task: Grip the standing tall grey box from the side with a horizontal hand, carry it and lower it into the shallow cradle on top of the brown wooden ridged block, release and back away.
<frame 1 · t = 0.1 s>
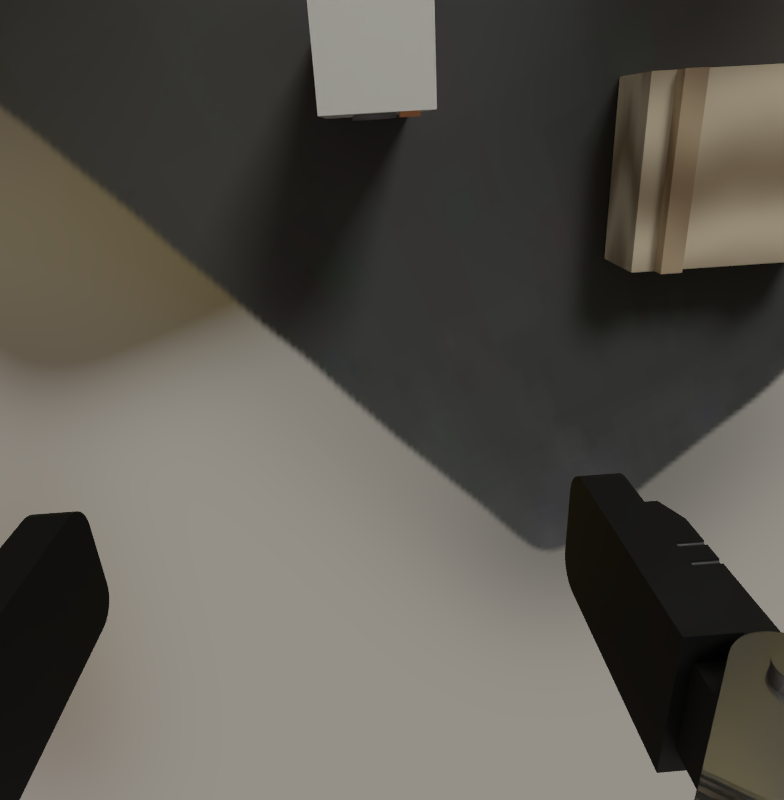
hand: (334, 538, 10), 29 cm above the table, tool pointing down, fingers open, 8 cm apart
tall grey box: (365, 70, 34), on the table
brown wooden ridged block: (712, 166, 37), on the table
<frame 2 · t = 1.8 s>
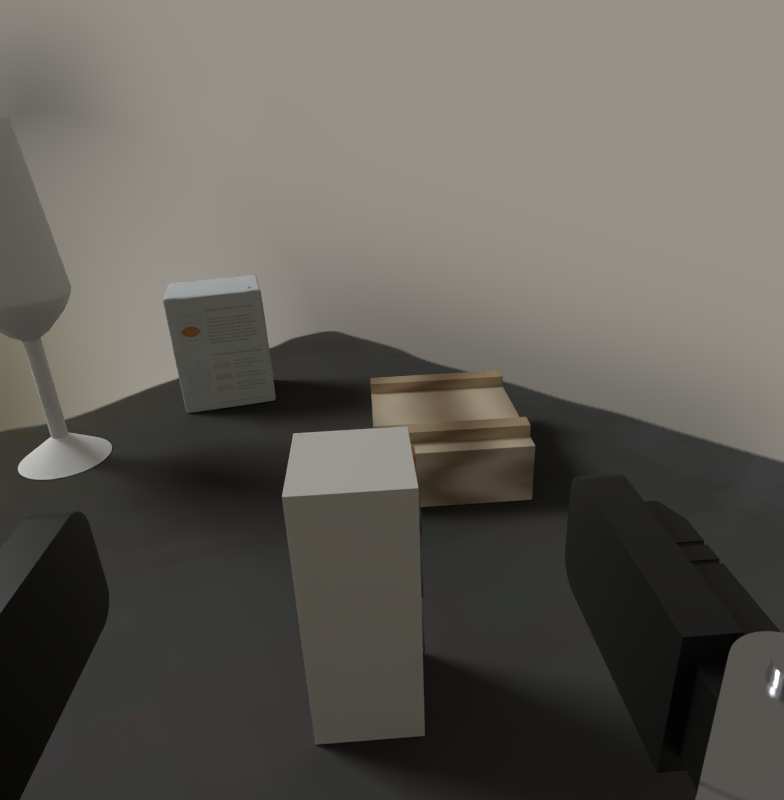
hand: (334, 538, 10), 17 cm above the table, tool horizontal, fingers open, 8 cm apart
tall grey box: (368, 693, 28), on the table
small box: (231, 398, 58), on the table
brown wooden ridged block: (443, 458, 46), on the table
champagne flute: (66, 459, 49), on the table
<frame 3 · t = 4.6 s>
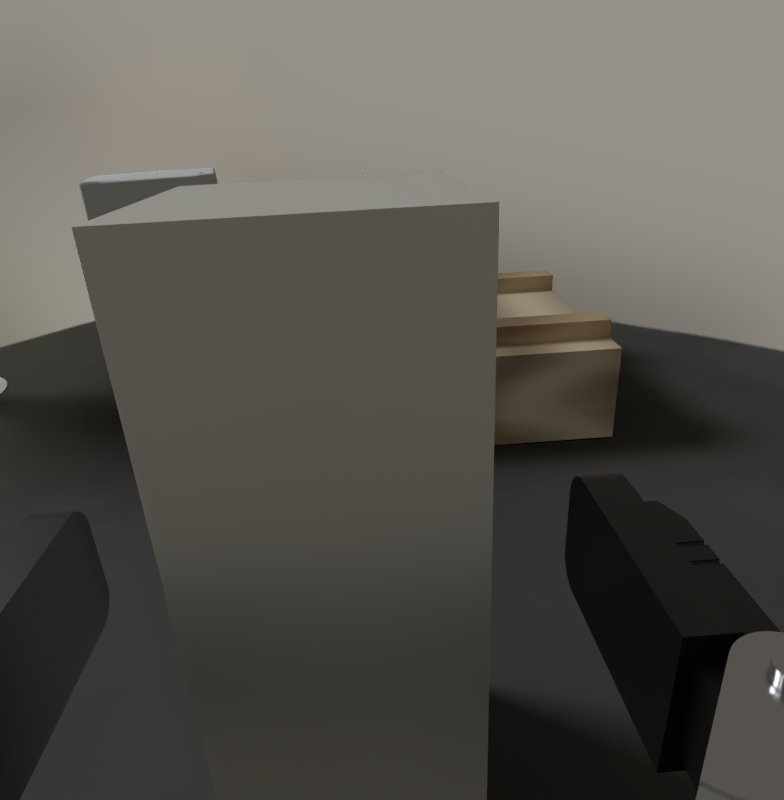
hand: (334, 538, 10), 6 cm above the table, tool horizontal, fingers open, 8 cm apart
tall grey box: (362, 770, 14), on the table
small box: (184, 333, 44), on the table
brown wooden ridged block: (471, 389, 32), on the table
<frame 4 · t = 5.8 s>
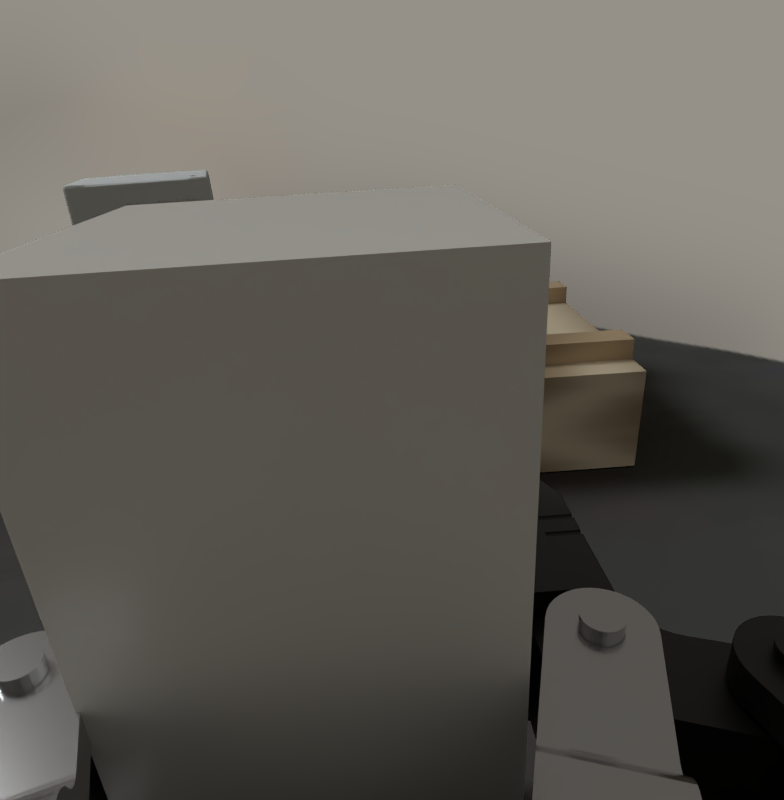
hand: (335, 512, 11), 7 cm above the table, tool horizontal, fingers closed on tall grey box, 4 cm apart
small box: (175, 343, 42), on the table
brown wooden ridged block: (479, 409, 30), on the table
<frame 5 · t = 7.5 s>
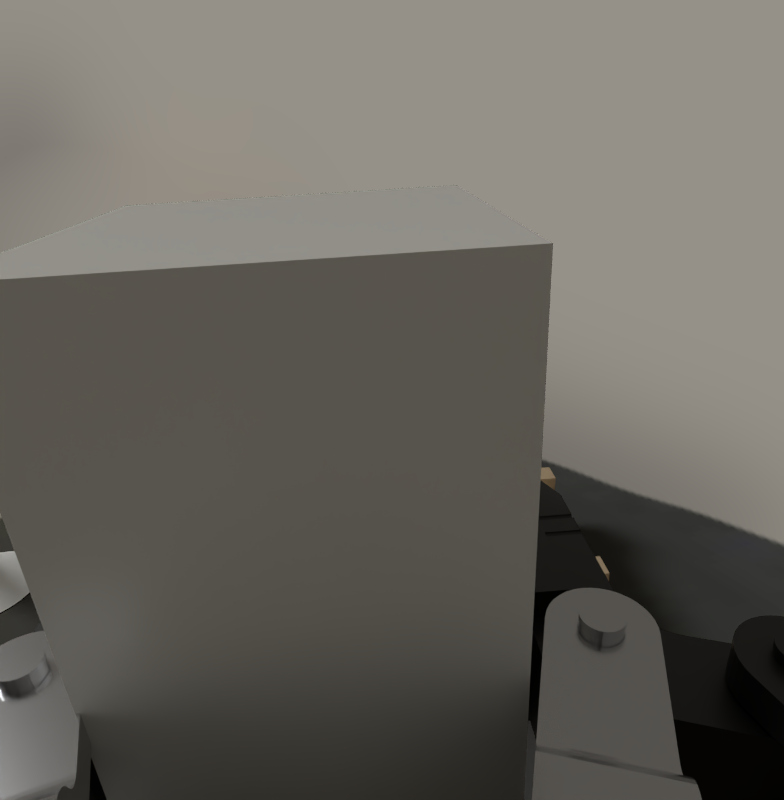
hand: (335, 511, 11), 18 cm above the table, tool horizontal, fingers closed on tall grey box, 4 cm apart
brown wooden ridged block: (479, 593, 34), on the table
when the fingers open (12 cm above the table, at t = 10.7 s): tall grey box drops 1 cm, resting on brown wooden ridged block.
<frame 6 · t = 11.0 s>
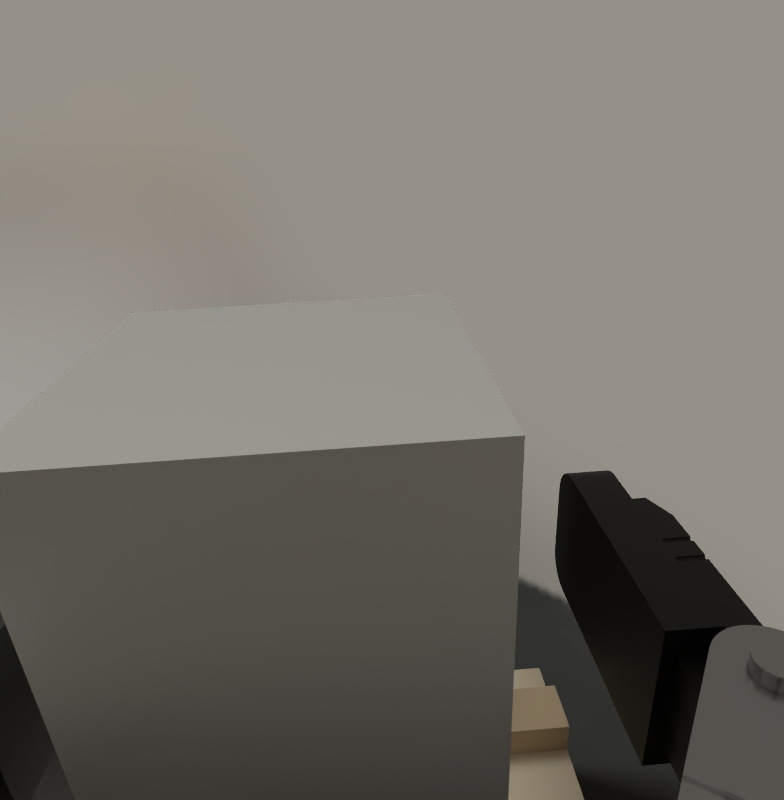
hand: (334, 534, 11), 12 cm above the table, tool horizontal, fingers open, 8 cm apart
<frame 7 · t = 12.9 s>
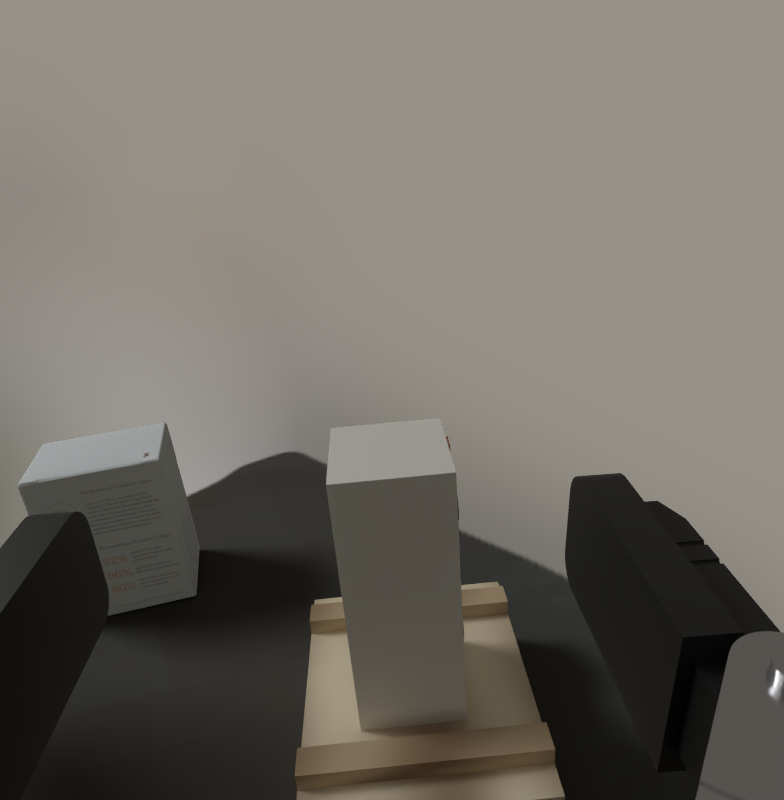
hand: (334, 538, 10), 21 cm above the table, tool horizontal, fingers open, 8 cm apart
tall grey box: (409, 682, 28), point 4 cm above the table, touching brown wooden ridged block
small box: (140, 587, 43), on the table
brown wooden ridged block: (421, 740, 30), on the table
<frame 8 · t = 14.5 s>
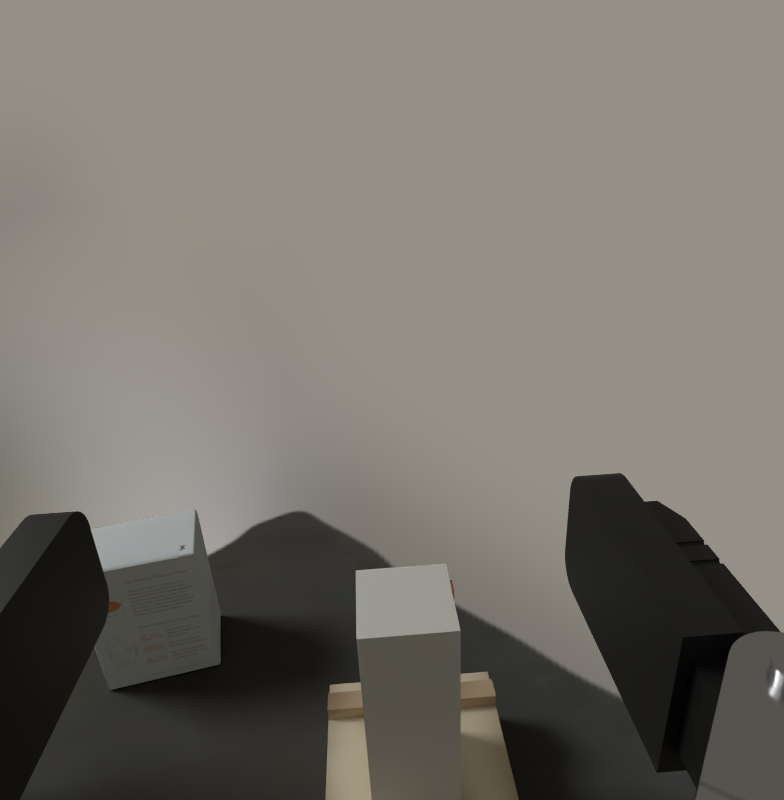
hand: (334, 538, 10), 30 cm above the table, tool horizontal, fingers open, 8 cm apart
tall grey box: (413, 770, 34), point 4 cm above the table, touching brown wooden ridged block
small box: (168, 653, 48), on the table
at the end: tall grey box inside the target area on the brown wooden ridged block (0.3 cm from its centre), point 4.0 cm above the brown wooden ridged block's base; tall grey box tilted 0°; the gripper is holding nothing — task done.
